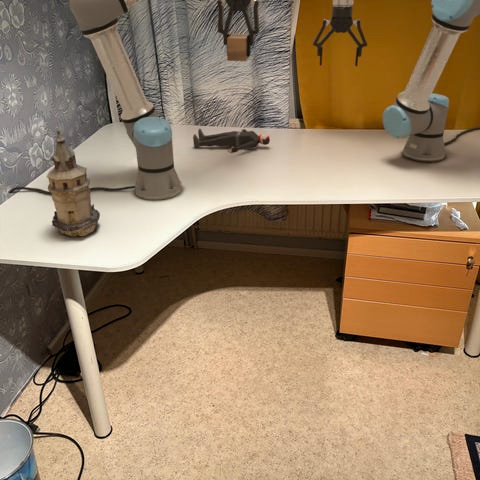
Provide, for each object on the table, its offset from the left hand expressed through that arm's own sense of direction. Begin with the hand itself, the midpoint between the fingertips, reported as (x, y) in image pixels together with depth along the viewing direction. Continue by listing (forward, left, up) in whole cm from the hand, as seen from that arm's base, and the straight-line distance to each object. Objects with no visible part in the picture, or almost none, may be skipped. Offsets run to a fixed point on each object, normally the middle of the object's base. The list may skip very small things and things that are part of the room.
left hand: (238, 55), depth 180 cm
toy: (-1, +19, -39) cm, 43 cm away
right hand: (+41, +23, -9) cm, 48 cm away
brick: (0, 0, -1) cm, 1 cm away
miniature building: (-51, -46, -39) cm, 79 cm away
